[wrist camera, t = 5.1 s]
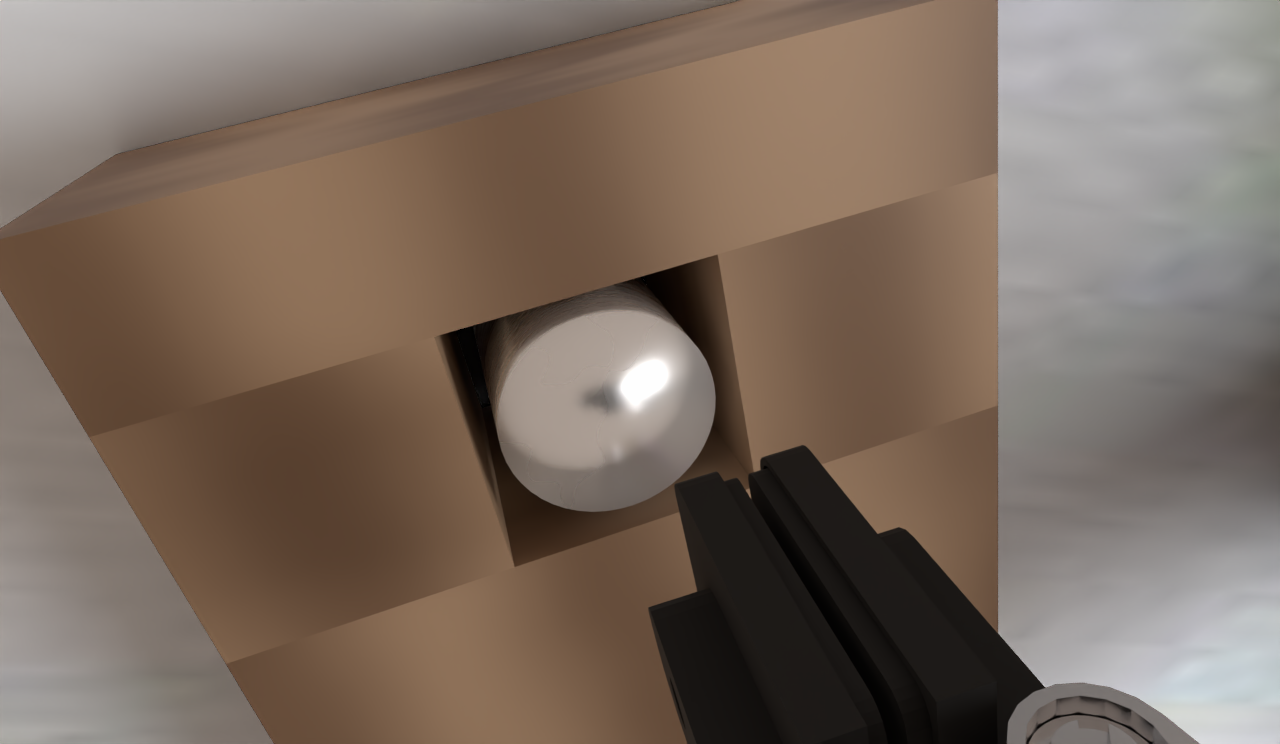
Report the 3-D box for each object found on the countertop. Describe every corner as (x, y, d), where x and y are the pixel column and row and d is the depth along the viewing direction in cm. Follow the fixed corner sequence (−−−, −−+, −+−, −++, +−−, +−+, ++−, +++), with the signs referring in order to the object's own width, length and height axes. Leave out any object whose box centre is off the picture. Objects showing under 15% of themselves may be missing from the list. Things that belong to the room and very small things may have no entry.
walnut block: (815, -18, 17) (997, -16, 12) (886, 745, 29) (998, 919, 23) (115, 154, 15) (-26, 245, 10) (484, 903, 27) (507, 1130, 21)
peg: (613, 201, 18) (696, 284, 13) (646, 350, 19) (730, 473, 15) (447, 247, 17) (467, 351, 12) (495, 396, 19) (531, 538, 14)
